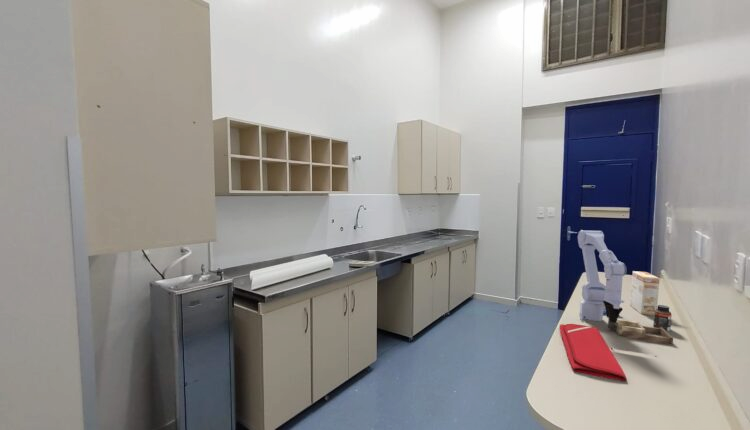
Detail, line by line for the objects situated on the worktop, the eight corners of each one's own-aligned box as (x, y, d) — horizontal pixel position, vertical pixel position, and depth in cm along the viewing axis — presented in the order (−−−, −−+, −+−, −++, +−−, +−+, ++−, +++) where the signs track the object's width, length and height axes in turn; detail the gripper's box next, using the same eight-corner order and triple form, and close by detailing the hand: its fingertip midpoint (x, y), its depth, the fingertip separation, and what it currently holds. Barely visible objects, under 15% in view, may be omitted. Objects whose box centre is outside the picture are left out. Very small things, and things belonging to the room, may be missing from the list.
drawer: (610, 333, 147) (611, 316, 146) (605, 326, 155) (606, 310, 154) (644, 339, 142) (646, 321, 141) (638, 331, 150) (639, 314, 149)
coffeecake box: (657, 316, 173) (660, 278, 172) (640, 314, 175) (643, 276, 174) (644, 306, 187) (647, 271, 186) (629, 305, 190) (631, 270, 188)
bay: (617, 340, 143) (617, 331, 142) (608, 326, 157) (609, 318, 157) (674, 349, 135) (675, 340, 135) (659, 334, 150) (660, 325, 149)
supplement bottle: (673, 334, 151) (675, 309, 150) (658, 332, 152) (660, 307, 151) (664, 328, 157) (666, 304, 156) (650, 327, 158) (652, 303, 157)
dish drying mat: (571, 372, 117) (572, 362, 117) (557, 329, 155) (558, 321, 154) (627, 383, 111) (628, 372, 111) (598, 335, 149) (599, 327, 149)
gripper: (629, 295, 141) (626, 327, 142) (620, 286, 154) (618, 316, 155) (608, 293, 144) (606, 324, 145) (601, 284, 157) (599, 313, 158)
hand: (611, 319), depth 150 cm, fingers open, 5 cm apart
